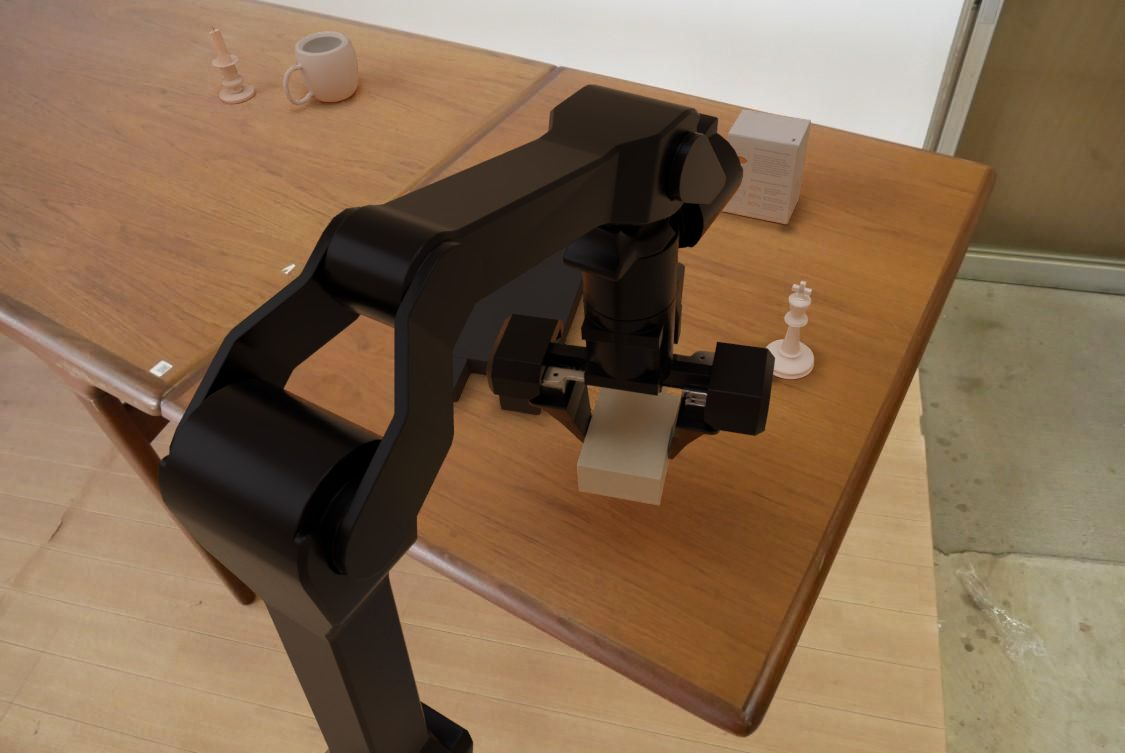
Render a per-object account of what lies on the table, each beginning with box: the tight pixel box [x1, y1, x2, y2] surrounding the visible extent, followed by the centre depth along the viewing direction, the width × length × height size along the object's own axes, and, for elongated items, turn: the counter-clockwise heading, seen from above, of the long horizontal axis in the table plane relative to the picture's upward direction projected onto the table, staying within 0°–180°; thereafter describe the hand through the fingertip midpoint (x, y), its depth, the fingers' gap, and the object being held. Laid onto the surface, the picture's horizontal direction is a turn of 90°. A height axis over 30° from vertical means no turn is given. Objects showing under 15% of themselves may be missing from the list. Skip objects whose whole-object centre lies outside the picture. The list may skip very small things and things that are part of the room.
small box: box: [721, 108, 812, 225], centre depth 95 cm, size 8×6×10 cm
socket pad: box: [452, 246, 583, 416], centre depth 89 cm, size 28×12×2 cm, turn 166°
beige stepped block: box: [576, 387, 680, 506], centre depth 64 cm, size 12×6×3 cm, turn 165°
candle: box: [209, 26, 256, 105], centre depth 122 cm, size 5×5×10 cm
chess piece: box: [765, 280, 815, 380], centre depth 78 cm, size 5×5×10 cm
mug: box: [282, 30, 360, 106], centre depth 120 cm, size 12×8×8 cm
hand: (629, 447), depth 63 cm, fingers closed on beige stepped block, 6 cm apart
